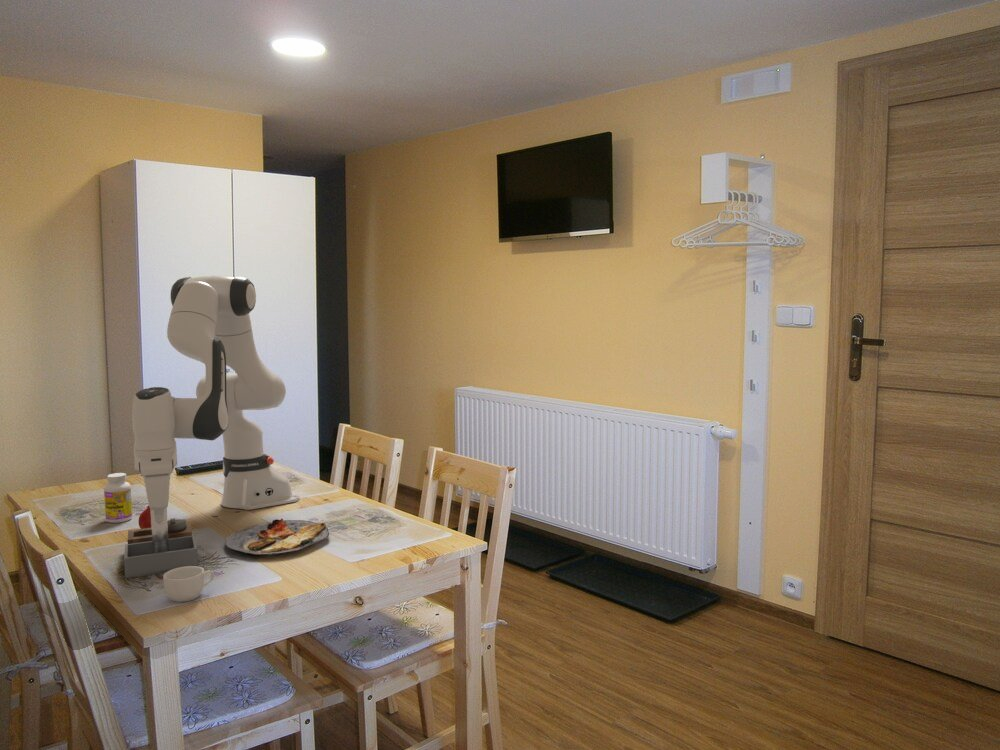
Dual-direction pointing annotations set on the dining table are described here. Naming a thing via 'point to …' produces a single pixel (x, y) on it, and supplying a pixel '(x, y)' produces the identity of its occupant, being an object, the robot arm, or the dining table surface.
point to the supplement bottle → (117, 499)
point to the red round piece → (145, 518)
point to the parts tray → (159, 557)
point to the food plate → (278, 536)
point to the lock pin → (159, 534)
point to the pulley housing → (174, 531)
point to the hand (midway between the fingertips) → (159, 518)
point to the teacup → (185, 583)
